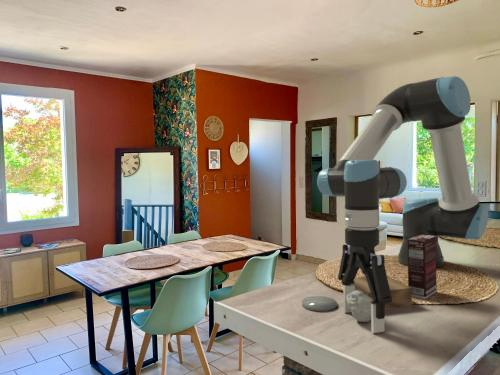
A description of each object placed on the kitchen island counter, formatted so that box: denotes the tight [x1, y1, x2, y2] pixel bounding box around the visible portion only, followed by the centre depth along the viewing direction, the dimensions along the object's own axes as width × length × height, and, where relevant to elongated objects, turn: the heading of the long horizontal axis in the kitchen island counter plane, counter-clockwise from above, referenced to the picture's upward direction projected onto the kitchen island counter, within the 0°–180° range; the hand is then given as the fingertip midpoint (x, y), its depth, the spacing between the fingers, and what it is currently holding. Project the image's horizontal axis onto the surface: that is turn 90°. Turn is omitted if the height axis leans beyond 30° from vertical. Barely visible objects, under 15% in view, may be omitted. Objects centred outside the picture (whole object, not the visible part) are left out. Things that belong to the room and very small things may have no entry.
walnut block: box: [351, 275, 413, 310], centre depth 101 cm, size 12×12×5 cm
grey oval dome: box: [301, 295, 338, 313], centre depth 99 cm, size 9×9×1 cm
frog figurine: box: [346, 290, 373, 323], centre depth 88 cm, size 6×7×7 cm
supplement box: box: [407, 235, 438, 300], centre depth 105 cm, size 9×5×16 cm, turn 135°
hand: (362, 321), depth 88 cm, fingers open, 11 cm apart
